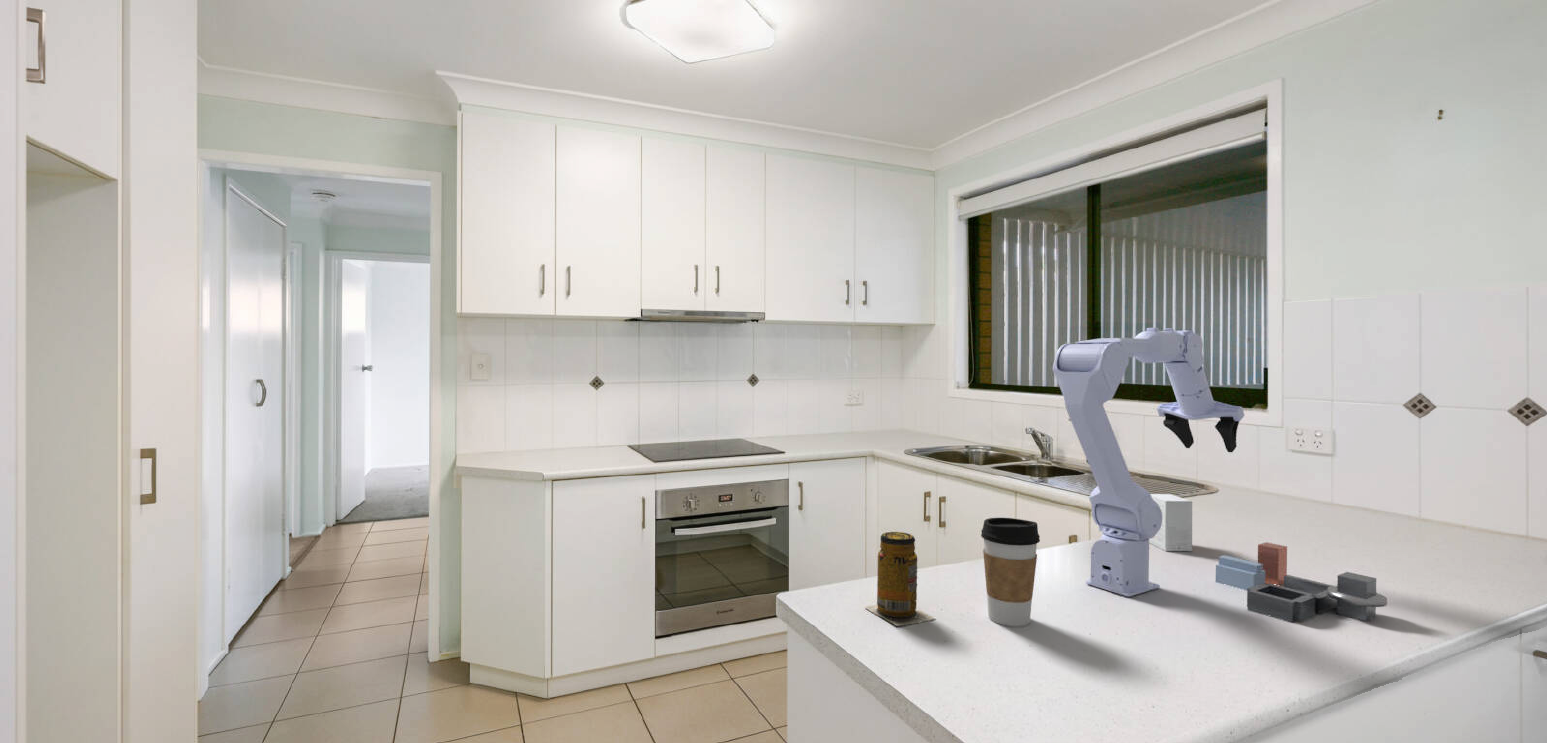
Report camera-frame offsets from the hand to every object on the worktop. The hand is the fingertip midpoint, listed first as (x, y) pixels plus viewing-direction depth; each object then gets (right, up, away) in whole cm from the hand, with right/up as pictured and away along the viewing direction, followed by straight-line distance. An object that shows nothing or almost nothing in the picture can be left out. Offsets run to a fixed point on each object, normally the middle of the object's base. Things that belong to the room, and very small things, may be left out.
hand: (1210, 447), depth 130 cm
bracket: (-3, -23, -12) cm, 26 cm away
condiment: (-65, -23, -26) cm, 74 cm away
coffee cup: (-49, -23, -28) cm, 61 cm away
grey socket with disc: (+1, -23, -24) cm, 34 cm away
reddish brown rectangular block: (+4, -23, -10) cm, 25 cm away
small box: (-1, -23, +13) cm, 26 cm away
